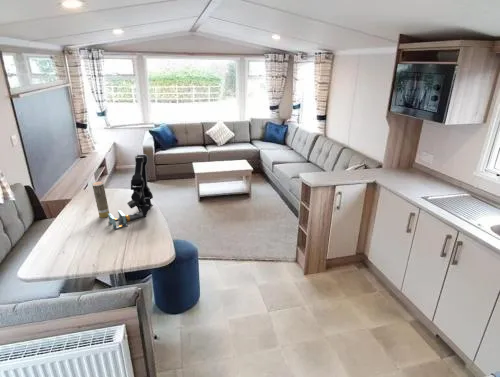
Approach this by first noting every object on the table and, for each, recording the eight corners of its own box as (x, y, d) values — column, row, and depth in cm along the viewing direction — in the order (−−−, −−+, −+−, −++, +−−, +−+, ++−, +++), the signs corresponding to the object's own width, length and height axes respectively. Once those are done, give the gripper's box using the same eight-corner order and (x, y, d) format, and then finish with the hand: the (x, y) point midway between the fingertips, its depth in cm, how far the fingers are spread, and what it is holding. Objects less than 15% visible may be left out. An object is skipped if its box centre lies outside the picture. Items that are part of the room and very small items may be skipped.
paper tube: (111, 213, 223) (105, 181, 213) (106, 218, 216) (99, 185, 206) (102, 213, 223) (95, 181, 213) (97, 218, 217) (90, 185, 207)
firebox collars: (108, 221, 212) (106, 212, 209) (121, 218, 216) (119, 208, 213) (115, 230, 202) (113, 220, 199) (127, 226, 206) (125, 216, 203)
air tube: (120, 224, 208) (119, 218, 206) (118, 222, 211) (117, 216, 210) (146, 216, 218) (146, 211, 217) (144, 214, 221) (143, 209, 220)
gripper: (123, 193, 214) (126, 213, 220) (132, 202, 201) (136, 223, 207) (139, 189, 221) (142, 209, 227) (149, 198, 207) (152, 218, 213)
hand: (142, 215), depth 218 cm, fingers open, 7 cm apart
